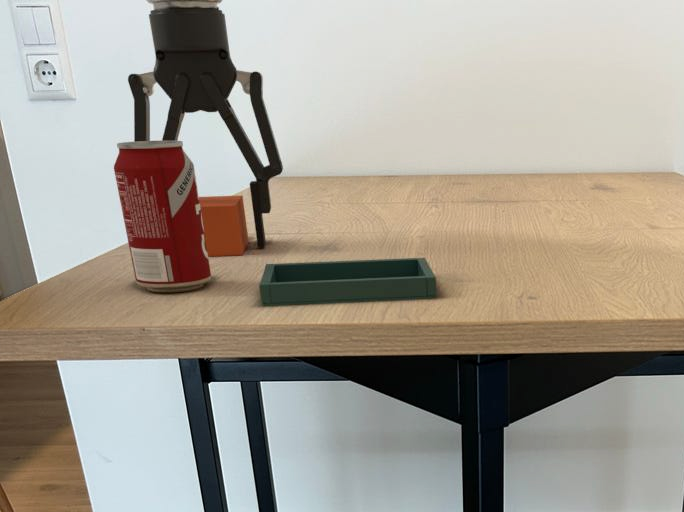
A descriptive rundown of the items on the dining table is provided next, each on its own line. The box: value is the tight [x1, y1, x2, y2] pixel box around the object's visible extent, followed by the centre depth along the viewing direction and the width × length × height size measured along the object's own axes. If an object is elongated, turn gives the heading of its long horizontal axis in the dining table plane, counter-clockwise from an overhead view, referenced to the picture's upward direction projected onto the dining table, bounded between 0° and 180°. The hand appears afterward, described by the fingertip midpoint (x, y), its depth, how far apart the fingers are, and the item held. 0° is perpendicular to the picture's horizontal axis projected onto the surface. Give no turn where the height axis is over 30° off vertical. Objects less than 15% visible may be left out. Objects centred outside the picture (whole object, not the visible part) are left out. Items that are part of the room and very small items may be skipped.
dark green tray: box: [258, 257, 437, 307], centre depth 82 cm, size 15×10×2 cm
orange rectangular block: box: [199, 195, 250, 257], centre depth 105 cm, size 10×6×5 cm, turn 8°
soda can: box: [113, 140, 212, 294], centre depth 84 cm, size 7×7×12 cm
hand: (221, 246), depth 107 cm, fingers open, 8 cm apart
